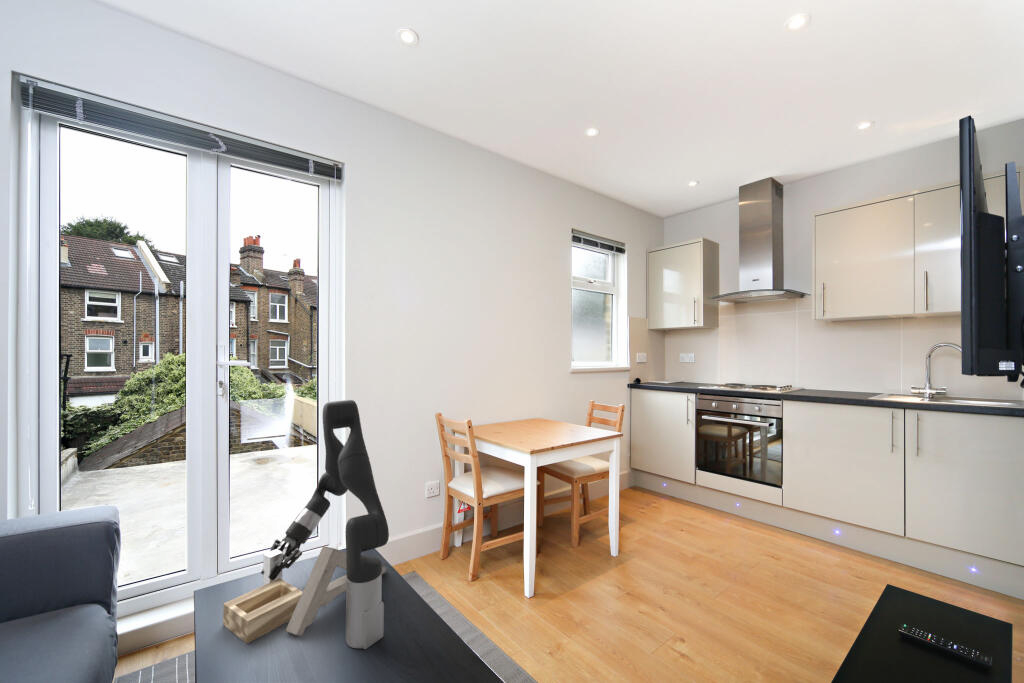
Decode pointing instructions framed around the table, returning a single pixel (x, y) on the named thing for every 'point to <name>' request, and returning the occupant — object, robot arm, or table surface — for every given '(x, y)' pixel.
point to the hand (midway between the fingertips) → (267, 576)
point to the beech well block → (261, 610)
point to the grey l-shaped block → (271, 565)
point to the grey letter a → (319, 589)
